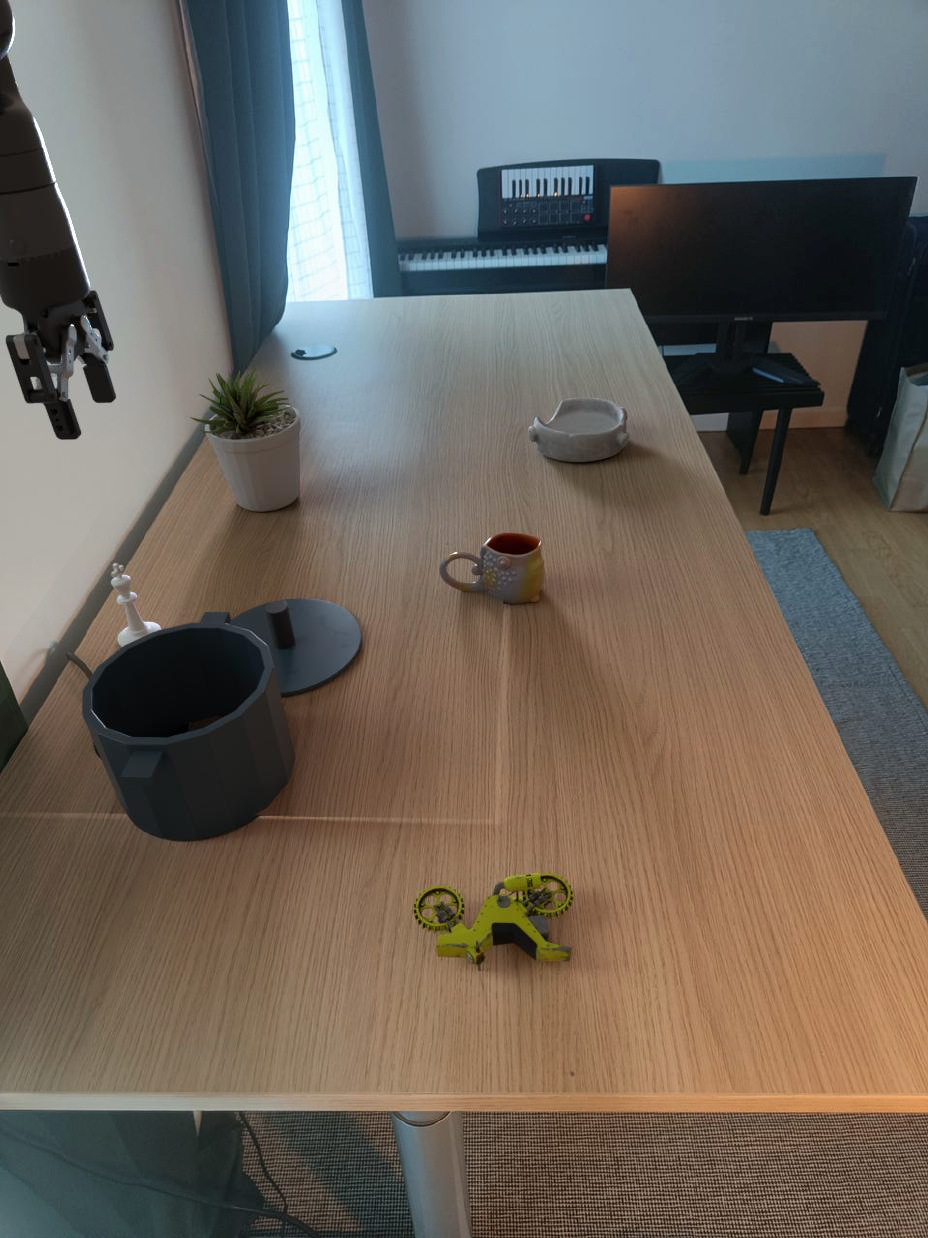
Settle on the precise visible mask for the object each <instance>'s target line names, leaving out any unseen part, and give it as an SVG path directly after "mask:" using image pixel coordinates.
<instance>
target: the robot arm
mask: <svg viewBox="0 0 928 1238" xmlns="http://www.w3.org/2000/svg"><path fill="white" fill-rule="evenodd" d="M15 27H16V26H15V16H14V13H13V9H12V6H11V4H10V1H9V0H0V299H1V301H2V303H3V304H4V306H5V307H7V308H9V309H11V310H15V311H17V312H18V313H19V314H20V315H21V317H22V322H23V332H21V333H17V334H7V335H6V336H5V345H6V348H7V351H8V354H9V357H10V360H11V363H12V367H13V369H14V372H15V376H16V378H17V381H18V384H19V387H20V389H21V393H22V396H23V399H24V402H25V403H26V404H28V405H31V404H42V405H43V406H44V408H45V410H46V413H47V416H48V419H49V422H50V424H51V427H52V430H53V433H54V435H55V437H56V438H57V439H58V440H61V441H68V440H69V441H76V440H77V439H79V438H80V436H81V435H82V430H81V426H80V424H79V420H78V418H77V415H76V411H75V409H74V406H73V402H72V400H71V398H69V379H70V378H71V377H72V376H74V372H75V371H74V368H75V366H74V364H75V361H77V360H78V361H79V362H80V363H81V364H82V365H84V366H82V370H83V374H84V377H85V380H86V383H87V386H88V389H89V393H90V395H91V398H92V400H93V402H94V403H96V404H112V403H113V402H114V401H115V400H116V399H117V393H116V390H115V388H114V384H113V381H112V377H111V373H110V371H109V368H108V365H107V364H109V361H110V358H109V354H108V352H113V351H114V350H115V349H114V348H115V344H114V340H113V338H112V334H111V331H110V328H109V325H108V322H107V319H106V316H105V313H104V310H103V307H102V304H101V300H100V298H99V293H98V292H97V291H96V290H91V283H90V280H89V276H88V273H87V269H86V266H85V263H84V259H83V257H82V253H81V249H80V247H79V243H78V240H77V236H76V233H75V230H74V225H73V223H72V219H71V217H70V213H69V210H68V208H67V205H66V203H65V200H64V198H63V196H62V194H61V192H60V189H59V187H58V183H57V181H56V177H55V174H54V170H53V167H52V163H51V161H50V157H49V153H48V150H47V147H46V144H45V141H44V138H43V135H42V132H41V130H40V127H39V125H38V122H37V120H36V118H35V116H34V115H33V113H32V111H31V110H30V109H29V107H28V106H27V105H26V104H25V103H26V102H25V101H24V100H23V97H22V96H21V92H20V89H19V86H18V85H19V84H18V83H17V78H16V76H15V73H14V70H13V66H12V64H11V61H10V60H11V59H10V57H9V55H8V53H9V51H10V49H11V47H12V44H13V41H14V38H15V31H16V30H15V29H16V28H15ZM95 330H97V331H98V333H99V335H100V336H99V335H98V334H97V332H96V331H95ZM48 363H49V364H48ZM32 378H35V387H34V384H33V381H32ZM53 378H55V384H54V380H53ZM55 385H56V386H55Z"/></svg>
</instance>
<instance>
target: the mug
mask: <svg viewBox="0 0 928 1238" xmlns="http://www.w3.org/2000/svg"><path fill="white" fill-rule="evenodd" d="M542 549H543V540H542V539H541V538H539V537H538V536H535V535H533V534H528V533H523V532H516V531H515V532H513V531H505V532H500V533H497V534H494V535H492V536H491V537H490V538H488V540H487V541H486V542H485V543H484V544H482V545H481V547H480V551H479V556H477V555H476V554H474V553H471V552H468V551H457V552H453V553H451V554H448V555H446V556H445V557H444V558H443V560H442V561H441V562H440V564H439V568H438V569H439V576H440V578H441V579H442V582H444V583H445V584H447V585H448V586H449V587H451V588H453V589H455V590H457V591H461V592H465V593H482V594H488V595H489V596H491V597H492V598H494V599H495V600H499V601H502V602H503V604H509V605H510V604H514V605H515V604H523V603H528V602H530V603H537V602H539V601H540V599H541V597H540V595H539V593H540V592H541V590H542V588H543V586H544V584H545V577H546V571H545V570H546V569H545V560H544V558H543V555H542ZM458 559H459V560H460V559H461V560H463V559H465V560H469V561H471V562H473V563H474V565H473V566H472V567H471V570H470V571H471V574H472V575H473V576H476V577H477V576H478V579H477V580H475V581H469V582H467V581H461V580H457V579H455V578H453V576H451V575H450V573H449V572H448V570H447V567H448V566H449V564H450V563H451V562H453V561H455V560H458Z"/></svg>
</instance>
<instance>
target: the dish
mask: <svg viewBox="0 0 928 1238" xmlns="http://www.w3.org/2000/svg"><path fill="white" fill-rule="evenodd" d="M627 421H628V412H627V410H626V407H624V406H619V405H618V404H617V403H615V402H613V401H611V400H608V399H604V398H598V397H597V398H595V397H574V398H567V399H566V398H565V399H563V400H561V401H560V403H559V404H558V406H557V408H556V410H555V412H554V414H553V415H552V417H551V418H550V420H549V421H548V422H543V421H542V419H541V417H540V416H536V417H535V418H534V422H533V425H530V426H529V427H528V430H527V431H528V439H529V441H530V442H532V443H535V445H536V448H537V450H538V452H539V453H540V454H542V455H544V456H545V457H548V458H550V459H553V460H557V461H562V462H568V463H569V462H570V463H587V462H594V461H599V460H604V459H607V458H610V457H613V456H615V455H617V454H618V453H619V452H621V450H622V449H624V448H625V447H626V446H627V445H628V444H629V439H630V433H629V432H627V426H628V425H627Z"/></svg>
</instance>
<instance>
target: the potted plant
mask: <svg viewBox="0 0 928 1238" xmlns="http://www.w3.org/2000/svg"><path fill="white" fill-rule="evenodd" d="M256 370H257V368H256V366H254V367H253V368H252V370H251V371H250V372H249V373H248V374H247V375H246V376H245V377H244V379H243V381H242V384H241V385H240V381H241V380H240V378H241V370H239V371H238V372H237V375H236V377H235V381H233V378H232V375H231V371H228V377H229V382H230V385H229V384H228V383H227V382H226V380H225V379H224V378H223V376H221V374H220V373H217V372H215V375H216V376H215V377H216V380H217V383H218V384H219V387H220V388H221V390H222V391H221V392H220V391H219V390H218V388H217V387H216V386H215V385H214V383H213V382H212V380H211V378H209V377H208V379H207V380H208V381H209V383H210V386H211V388H212V389H213V390H212V391H211V392H212V394H213V395H214V396H215V398H216V399H217V400H218V401H216V400H215V399H212V398H210V397H208V396H206V395H203V394H198V395H199V396H200V397H202V398H204V399H206V400H207V401H209V402H211V403H212V404H214V405H215V406H216V407H214V406H211V405H210V406H209V407H208V409H209V410H210V412H212V413H214V415H213V416H212V417H210V418H209V419H200V418H196V417H191V416H190V417H189V418H190V419H191V420H193V421H195V422H197V423H200V424H204V430H201V429H200V430H199V431H200V432H201V433H203V434H205V435H206V437H207V439H208V442H209V444H210V445H211V446H212V448H213V451H214V453H215V456H216V458H217V460H218V463H219V465H220V467H221V469H222V472H223V474H224V477H225V479H226V482H227V484H228V486H229V489H230V491H231V493H232V495H233V497H234V499H235V502H236V503H237V504H238V506H239V507H241V509H244V510H246V511H251V512H258V513H261V512H272V511H276V510H280V509H283V508H285V507H287V506H289V505H291V504H292V503H293V502H295V501H296V500H297V498H298V497H299V495H300V490H301V489H300V488H301V449H300V447H301V446H300V445H301V443H300V431H301V413H300V412H299V411H298V410H297V409H296V408H295V407H293V406H291V403H289V402H288V403H287V402H281V401H289V398H288V397H277V398H272V397H274V396H276V395H279V394H282V393H285V392H286V391H285V390H279V391H275V392H271V393H268V394H266V395H263V396H260V397H259V398H258V395H259V392H260V390H262V389H263V388H265V387H267V386H269V385H271V384H272V383H271V382H268V383H265V384H261V385H260V383H258V384H257V387H256V388H255V389H254V390H253V388H254V385H255V382H256V379H257V377H258V375H259V371H258V372H256V374H254V373H255V371H256ZM223 394H224V395H223ZM271 398H272V399H271Z"/></svg>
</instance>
